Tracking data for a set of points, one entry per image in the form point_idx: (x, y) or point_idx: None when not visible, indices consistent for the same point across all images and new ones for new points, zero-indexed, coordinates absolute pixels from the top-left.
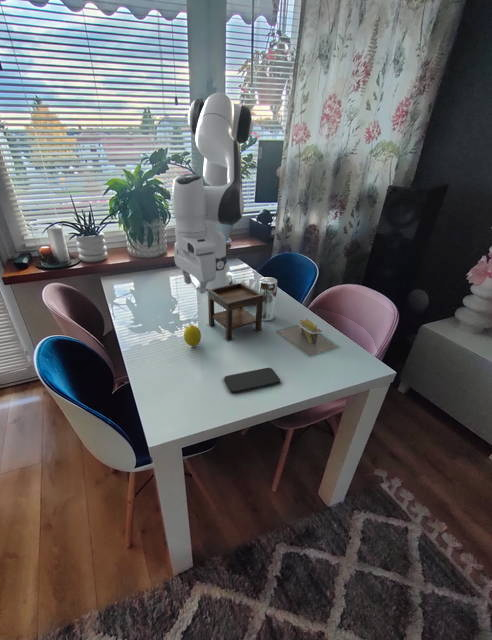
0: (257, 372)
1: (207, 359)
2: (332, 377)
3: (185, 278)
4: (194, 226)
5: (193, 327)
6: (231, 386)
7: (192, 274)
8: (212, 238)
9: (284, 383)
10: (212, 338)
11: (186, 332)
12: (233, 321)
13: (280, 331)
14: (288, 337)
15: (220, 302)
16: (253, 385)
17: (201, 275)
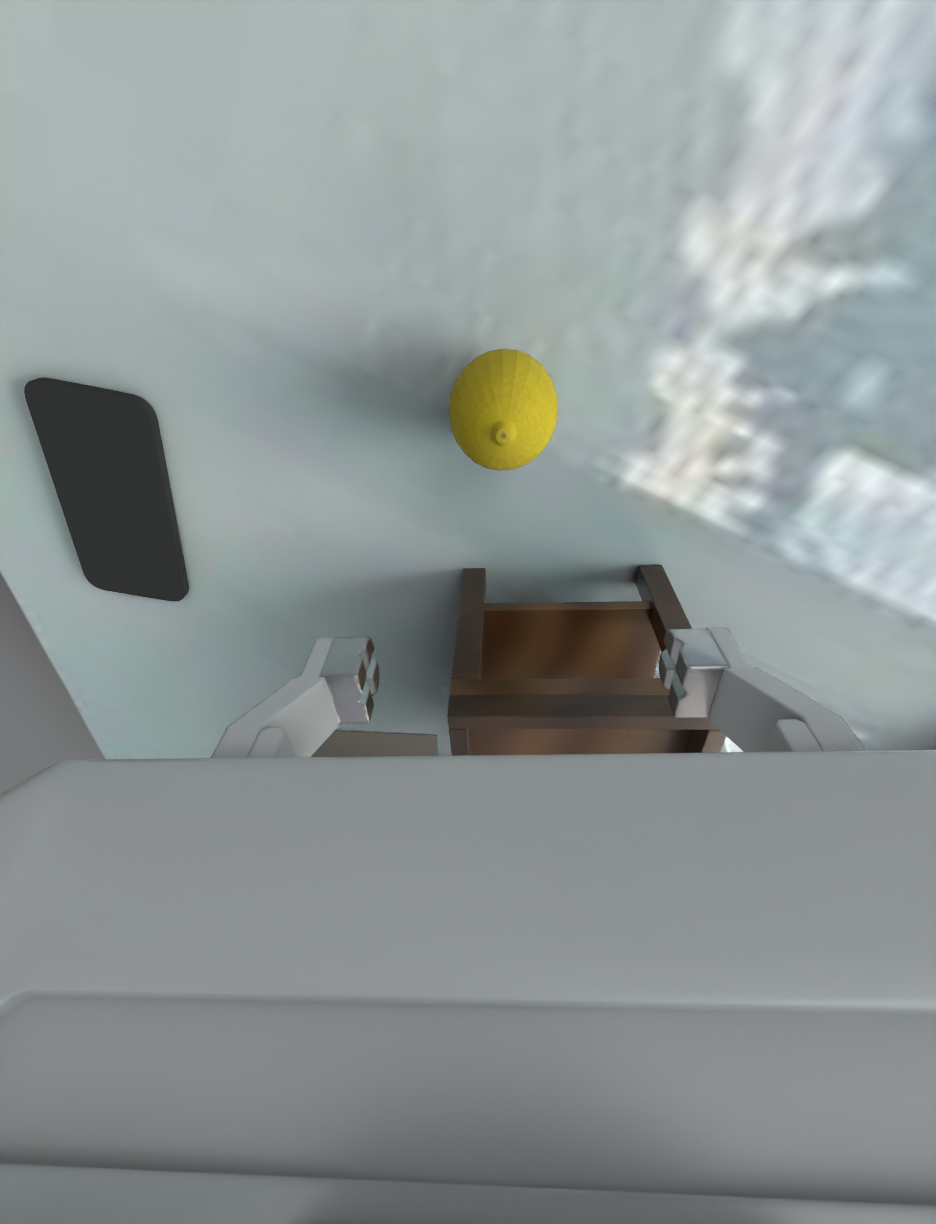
0: (156, 545)
1: (344, 404)
2: (122, 710)
3: (705, 667)
4: None
5: (486, 437)
6: (60, 398)
7: (374, 770)
8: None
9: (100, 590)
10: (524, 518)
11: (493, 374)
12: (523, 658)
13: (433, 743)
14: (383, 740)
15: (547, 694)
16: (64, 487)
17: (14, 839)
